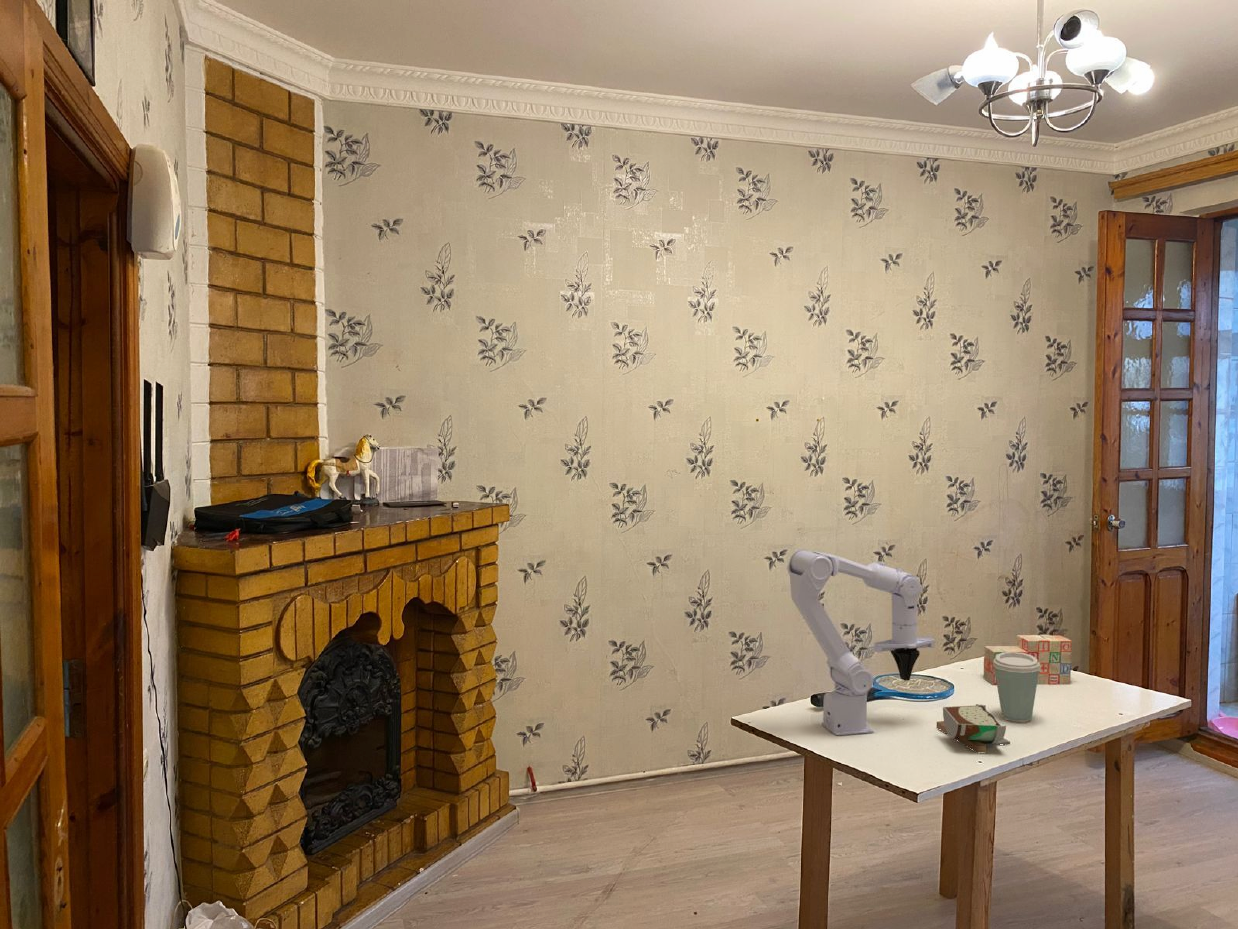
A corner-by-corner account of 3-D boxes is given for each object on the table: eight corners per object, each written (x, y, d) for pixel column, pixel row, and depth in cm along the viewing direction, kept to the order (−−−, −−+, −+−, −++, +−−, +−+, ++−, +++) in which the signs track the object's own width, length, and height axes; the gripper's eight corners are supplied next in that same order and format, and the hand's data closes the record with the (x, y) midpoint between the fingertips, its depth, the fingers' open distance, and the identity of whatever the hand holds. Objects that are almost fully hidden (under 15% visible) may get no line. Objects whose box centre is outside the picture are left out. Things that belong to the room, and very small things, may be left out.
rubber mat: (978, 747, 201) (978, 744, 201) (947, 728, 213) (947, 726, 213) (1010, 744, 203) (1010, 742, 203) (978, 726, 214) (978, 723, 214)
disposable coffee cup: (1044, 727, 213) (1046, 664, 213) (995, 724, 216) (996, 661, 215) (1034, 712, 224) (1035, 652, 223) (987, 709, 226) (989, 650, 225)
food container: (959, 754, 197) (1005, 754, 197) (960, 727, 196) (1007, 727, 196) (939, 729, 209) (983, 729, 209) (940, 704, 209) (984, 704, 208)
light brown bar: (977, 753, 198) (977, 746, 198) (936, 728, 213) (936, 721, 213) (985, 752, 198) (985, 745, 198) (944, 727, 214) (944, 721, 214)
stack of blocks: (992, 685, 246) (994, 640, 245) (983, 679, 252) (984, 635, 252) (1071, 685, 247) (1072, 640, 246) (1059, 678, 253) (1060, 634, 252)
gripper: (883, 629, 210) (884, 687, 211) (941, 624, 213) (942, 681, 214) (869, 622, 217) (870, 678, 218) (925, 617, 220) (926, 672, 221)
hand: (905, 679), depth 216 cm, fingers closed
